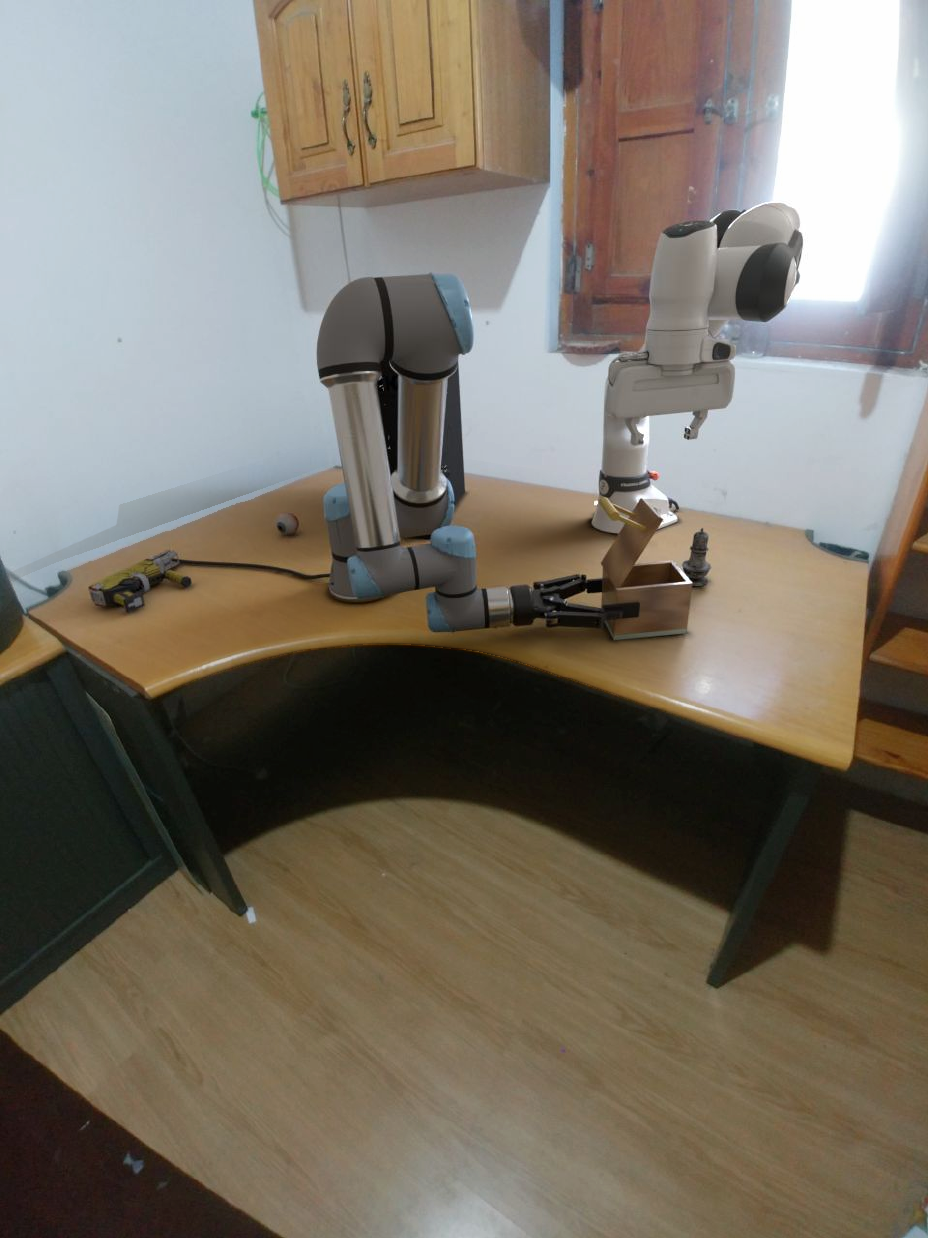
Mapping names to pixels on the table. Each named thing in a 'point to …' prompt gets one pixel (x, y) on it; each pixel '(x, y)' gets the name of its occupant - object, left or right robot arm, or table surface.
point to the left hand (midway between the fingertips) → (629, 596)
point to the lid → (628, 537)
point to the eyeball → (287, 523)
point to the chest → (650, 600)
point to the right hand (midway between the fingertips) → (663, 441)
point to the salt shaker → (697, 560)
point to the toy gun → (136, 582)
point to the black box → (451, 433)
